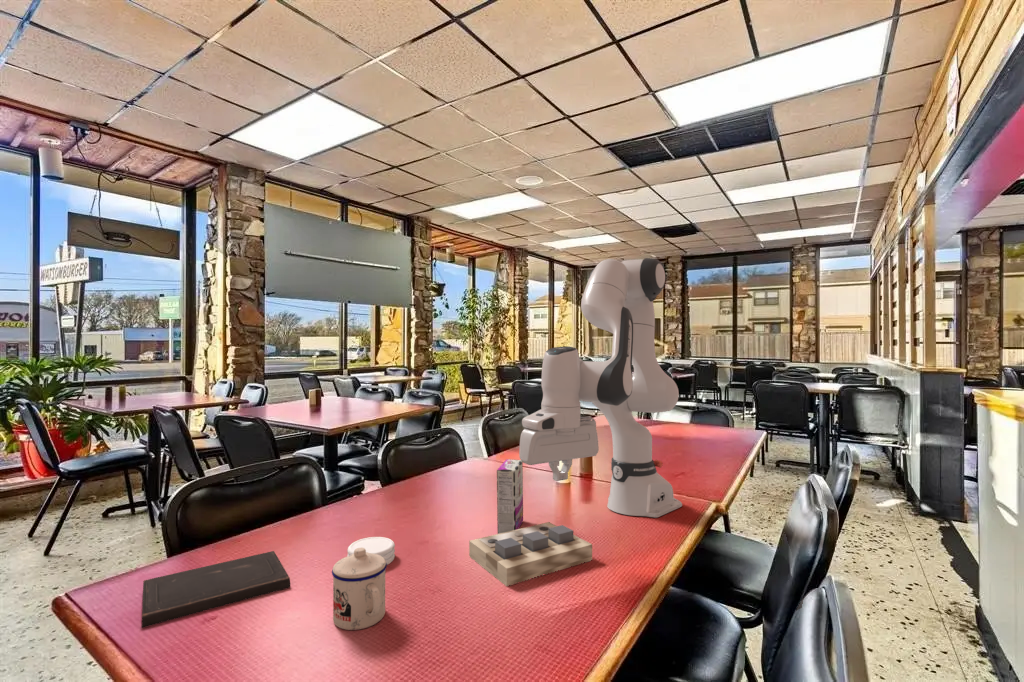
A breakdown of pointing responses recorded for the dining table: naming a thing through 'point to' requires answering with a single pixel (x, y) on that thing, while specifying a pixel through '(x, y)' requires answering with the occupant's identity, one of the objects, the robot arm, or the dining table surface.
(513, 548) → the button
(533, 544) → the middle button
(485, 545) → the button board
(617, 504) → the robot arm
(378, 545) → the white round disc stack
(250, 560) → the hardcover book
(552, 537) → the button
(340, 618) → the teacup with lid
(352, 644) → the dining table surface
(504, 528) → the candy bar box
